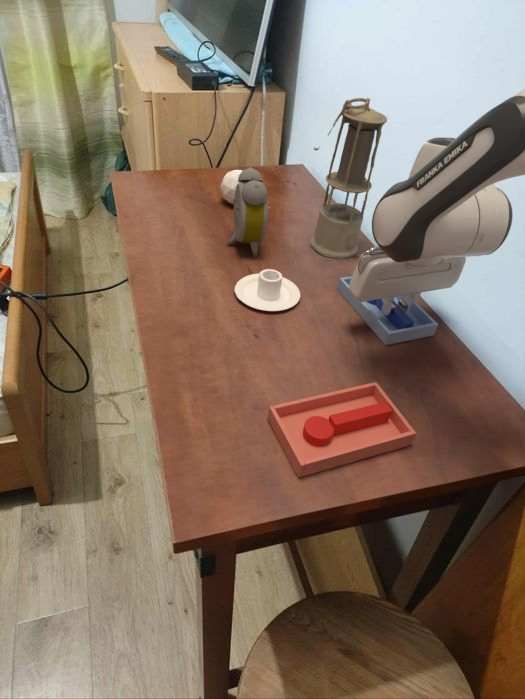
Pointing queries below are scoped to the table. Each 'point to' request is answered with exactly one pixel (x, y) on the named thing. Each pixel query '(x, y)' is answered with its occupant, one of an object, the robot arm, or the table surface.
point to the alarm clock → (250, 210)
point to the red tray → (344, 446)
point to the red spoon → (344, 423)
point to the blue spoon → (395, 315)
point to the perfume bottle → (230, 185)
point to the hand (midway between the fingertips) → (394, 311)
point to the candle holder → (267, 291)
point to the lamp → (348, 181)
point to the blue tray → (380, 322)
